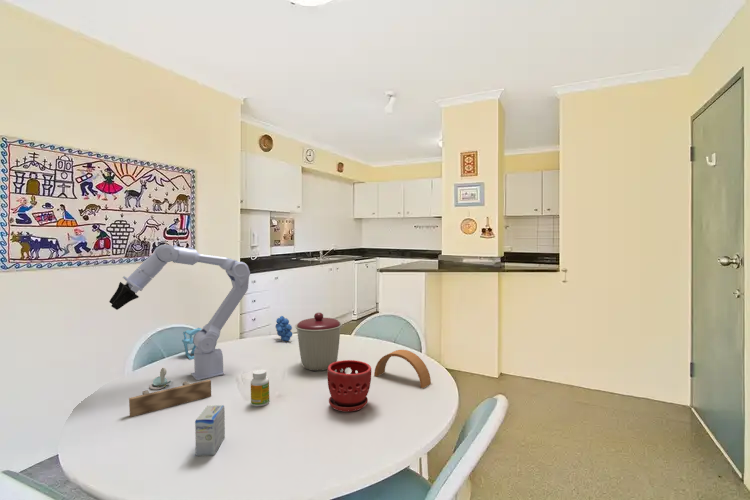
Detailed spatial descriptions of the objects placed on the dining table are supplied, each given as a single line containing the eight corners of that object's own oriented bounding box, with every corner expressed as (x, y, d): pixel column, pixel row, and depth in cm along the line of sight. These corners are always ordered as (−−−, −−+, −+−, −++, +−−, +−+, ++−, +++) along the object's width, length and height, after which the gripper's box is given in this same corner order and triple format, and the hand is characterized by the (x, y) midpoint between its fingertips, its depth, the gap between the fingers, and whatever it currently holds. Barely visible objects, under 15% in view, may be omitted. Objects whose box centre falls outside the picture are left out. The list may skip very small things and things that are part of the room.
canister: (286, 371, 146) (285, 315, 145) (311, 357, 163) (310, 307, 162) (328, 377, 139) (327, 319, 138) (350, 361, 156) (349, 309, 155)
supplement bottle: (264, 407, 115) (263, 375, 115) (247, 406, 116) (246, 374, 116) (272, 400, 120) (271, 369, 120) (256, 398, 121) (255, 368, 121)
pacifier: (154, 392, 128) (173, 386, 132) (152, 374, 127) (172, 368, 132) (146, 387, 132) (165, 381, 137) (145, 369, 132) (163, 364, 136)
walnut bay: (202, 386, 132) (201, 371, 132) (211, 396, 124) (210, 380, 123) (125, 404, 118) (125, 388, 118) (130, 417, 110) (129, 399, 110)
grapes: (269, 340, 189) (268, 316, 188) (280, 337, 194) (280, 314, 193) (284, 344, 181) (283, 319, 181) (295, 341, 186) (295, 316, 186)
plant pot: (337, 419, 107) (337, 376, 107) (321, 401, 119) (321, 363, 118) (379, 409, 113) (379, 369, 113) (360, 393, 125) (359, 356, 124)
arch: (383, 371, 145) (383, 345, 144) (430, 383, 133) (430, 354, 132) (374, 376, 140) (373, 349, 140) (422, 389, 128) (422, 359, 128)
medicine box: (207, 439, 98) (206, 405, 97) (225, 438, 98) (224, 404, 98) (195, 456, 90) (194, 420, 89) (215, 455, 90) (214, 419, 90)
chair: (197, 351, 172) (196, 325, 171) (207, 355, 167) (206, 327, 166) (180, 356, 165) (179, 328, 165) (190, 359, 161) (189, 331, 160)
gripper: (131, 263, 134) (100, 294, 129) (137, 268, 123) (103, 302, 118) (149, 276, 138) (119, 307, 133) (156, 281, 126) (123, 315, 121)
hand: (112, 305), depth 125 cm, fingers open, 7 cm apart
